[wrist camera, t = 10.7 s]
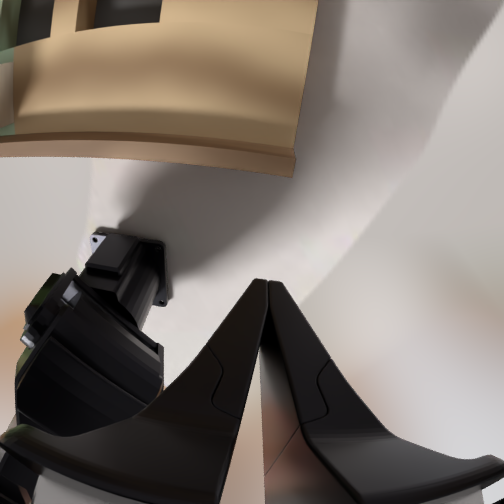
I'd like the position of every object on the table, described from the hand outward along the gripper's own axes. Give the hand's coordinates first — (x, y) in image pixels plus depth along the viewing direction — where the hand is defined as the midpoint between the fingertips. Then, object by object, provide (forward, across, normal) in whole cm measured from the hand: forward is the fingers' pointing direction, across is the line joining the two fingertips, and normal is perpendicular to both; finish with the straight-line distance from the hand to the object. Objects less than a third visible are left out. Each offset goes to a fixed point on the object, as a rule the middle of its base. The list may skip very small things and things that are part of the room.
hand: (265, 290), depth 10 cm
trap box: (+12, +11, -8) cm, 18 cm away
